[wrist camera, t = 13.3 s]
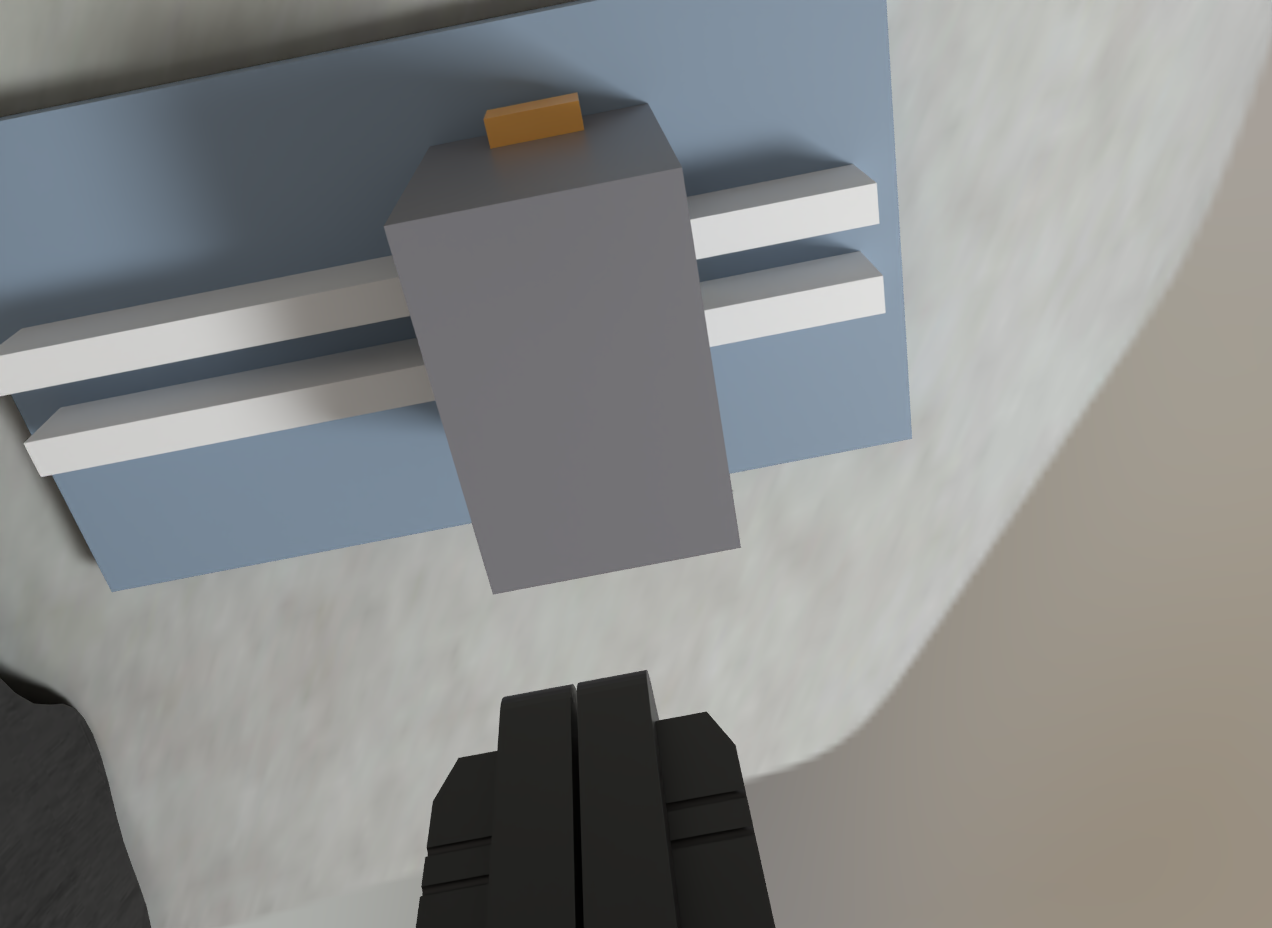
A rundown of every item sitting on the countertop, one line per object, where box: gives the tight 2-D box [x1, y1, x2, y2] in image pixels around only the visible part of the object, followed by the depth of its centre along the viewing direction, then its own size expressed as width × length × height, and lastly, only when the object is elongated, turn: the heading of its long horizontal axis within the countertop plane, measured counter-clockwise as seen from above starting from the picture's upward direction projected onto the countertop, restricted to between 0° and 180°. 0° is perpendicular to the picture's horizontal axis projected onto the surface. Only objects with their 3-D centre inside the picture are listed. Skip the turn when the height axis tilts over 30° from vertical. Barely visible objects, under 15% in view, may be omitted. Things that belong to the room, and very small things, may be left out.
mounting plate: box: [0, 0, 912, 592], centre depth 24 cm, size 12×22×3 cm, turn 100°
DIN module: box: [384, 92, 741, 594], centre depth 22 cm, size 8×5×7 cm, turn 10°
